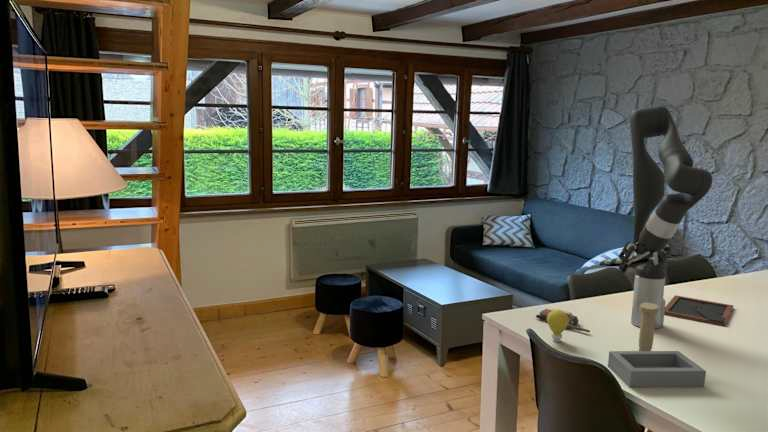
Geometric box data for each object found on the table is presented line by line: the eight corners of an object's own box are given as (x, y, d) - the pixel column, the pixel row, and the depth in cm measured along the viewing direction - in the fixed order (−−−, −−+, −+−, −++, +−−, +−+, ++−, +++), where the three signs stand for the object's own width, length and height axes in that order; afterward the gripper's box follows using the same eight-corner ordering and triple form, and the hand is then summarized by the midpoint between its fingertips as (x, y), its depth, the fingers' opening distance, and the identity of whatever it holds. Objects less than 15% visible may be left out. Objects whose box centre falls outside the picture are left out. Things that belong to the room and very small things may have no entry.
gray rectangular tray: (676, 365, 160) (678, 351, 160) (704, 387, 147) (706, 370, 147) (607, 366, 159) (609, 351, 159) (629, 387, 147) (630, 371, 146)
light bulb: (542, 336, 181) (544, 306, 180) (562, 336, 182) (564, 306, 180) (550, 344, 175) (552, 313, 173) (571, 344, 175) (573, 313, 174)
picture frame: (724, 328, 193) (733, 309, 213) (725, 322, 193) (733, 304, 212) (661, 315, 205) (674, 299, 224) (661, 310, 204) (675, 294, 224)
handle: (655, 352, 170) (660, 304, 167) (651, 359, 164) (656, 310, 162) (638, 348, 172) (642, 301, 170) (633, 355, 167) (638, 307, 165)
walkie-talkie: (532, 321, 196) (588, 336, 183) (533, 309, 196) (589, 323, 182) (544, 315, 203) (599, 329, 189) (545, 303, 202) (600, 317, 188)
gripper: (672, 221, 162) (646, 263, 172) (631, 219, 159) (606, 262, 168) (688, 238, 157) (660, 280, 166) (645, 236, 153) (619, 280, 162)
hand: (633, 271), depth 167 cm, fingers open, 8 cm apart
